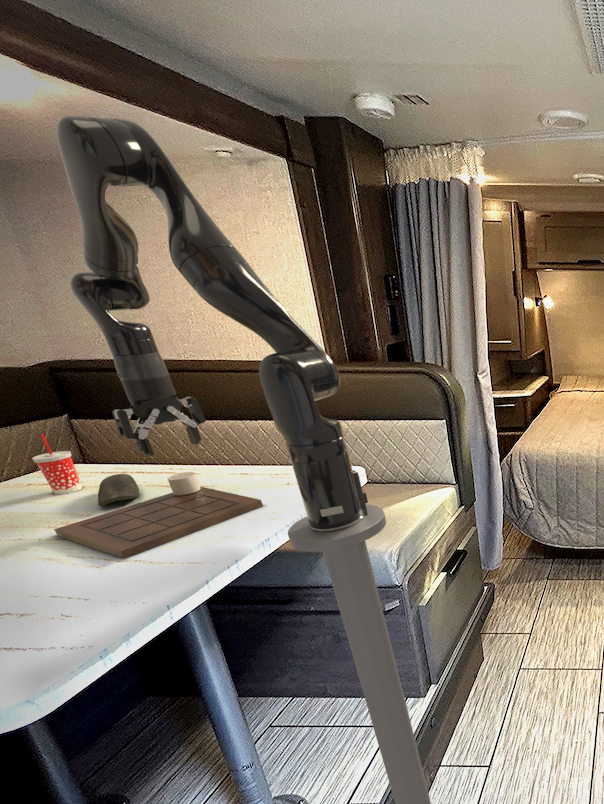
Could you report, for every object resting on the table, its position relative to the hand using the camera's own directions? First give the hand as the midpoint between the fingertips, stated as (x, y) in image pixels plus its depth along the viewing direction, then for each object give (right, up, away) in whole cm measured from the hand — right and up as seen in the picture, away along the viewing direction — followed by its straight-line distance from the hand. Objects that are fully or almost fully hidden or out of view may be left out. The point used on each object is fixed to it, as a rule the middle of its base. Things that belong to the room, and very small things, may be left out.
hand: (173, 449), depth 110 cm
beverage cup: (-35, -9, +10) cm, 37 cm away
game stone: (0, -9, +4) cm, 10 cm away
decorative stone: (-17, -11, +5) cm, 21 cm away
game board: (+5, -15, -7) cm, 17 cm away
